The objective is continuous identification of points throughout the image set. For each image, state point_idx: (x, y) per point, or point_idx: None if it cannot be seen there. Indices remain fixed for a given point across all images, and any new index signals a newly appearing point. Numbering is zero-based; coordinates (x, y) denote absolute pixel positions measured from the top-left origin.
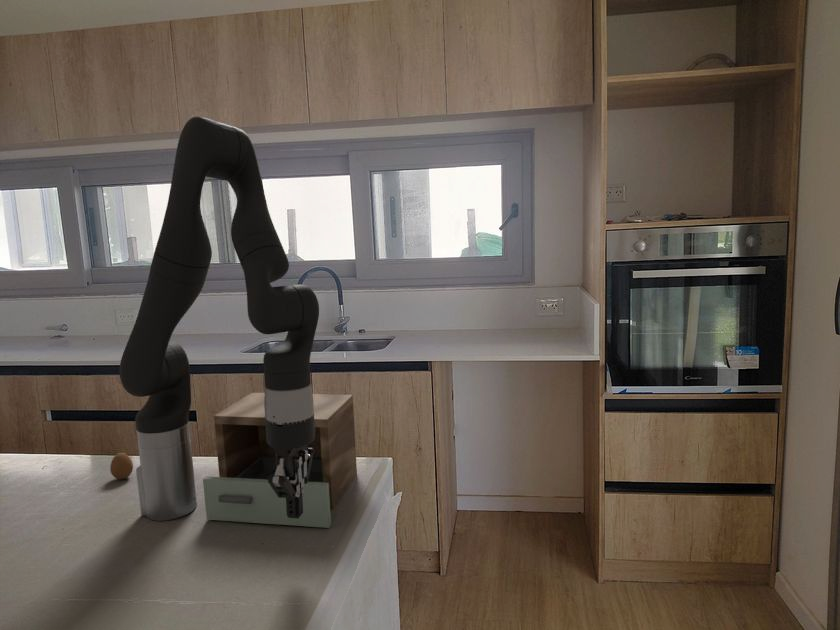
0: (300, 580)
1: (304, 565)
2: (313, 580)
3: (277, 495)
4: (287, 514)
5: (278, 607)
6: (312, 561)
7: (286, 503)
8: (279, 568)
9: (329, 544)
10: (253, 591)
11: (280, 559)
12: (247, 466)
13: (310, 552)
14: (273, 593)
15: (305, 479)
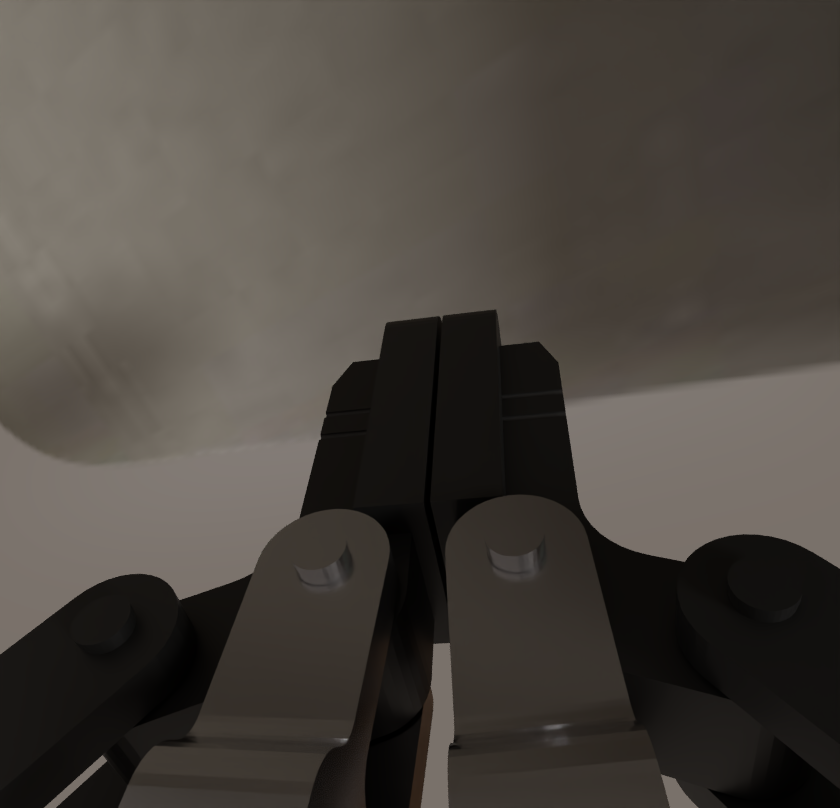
0: (272, 301)
1: (418, 246)
2: (303, 365)
3: (16, 648)
4: (338, 379)
5: (23, 310)
6: (476, 272)
7: (371, 425)
8: (325, 94)
9: (703, 281)
10: (29, 75)
11: (432, 26)
12: None
13: (578, 205)
14: (93, 218)
15: (688, 796)
